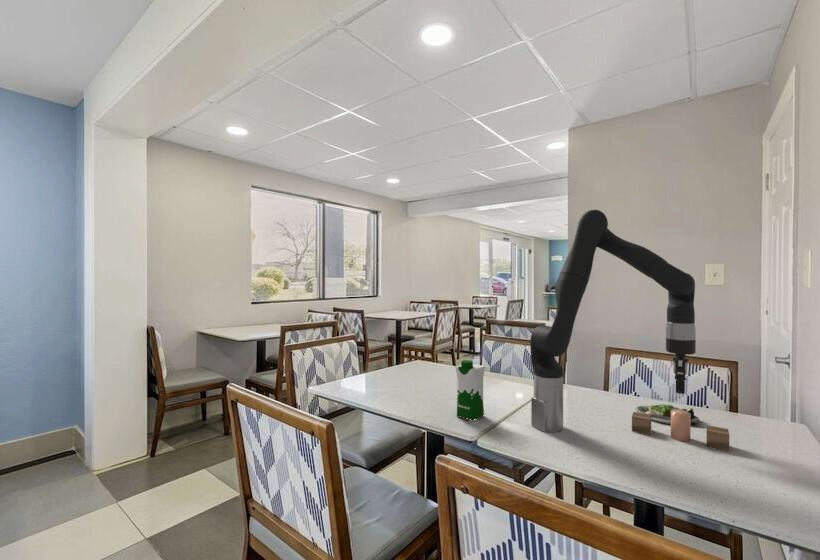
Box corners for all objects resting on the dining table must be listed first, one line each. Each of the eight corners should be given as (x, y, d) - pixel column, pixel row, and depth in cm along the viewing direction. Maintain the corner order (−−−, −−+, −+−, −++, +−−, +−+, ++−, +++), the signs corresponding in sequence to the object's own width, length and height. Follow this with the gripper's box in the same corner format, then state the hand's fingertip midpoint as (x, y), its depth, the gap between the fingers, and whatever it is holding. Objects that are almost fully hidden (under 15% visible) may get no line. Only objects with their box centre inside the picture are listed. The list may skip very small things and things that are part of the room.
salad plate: (651, 428, 128) (651, 414, 128) (622, 409, 146) (622, 397, 146) (710, 428, 128) (710, 414, 128) (674, 409, 146) (674, 397, 146)
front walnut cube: (729, 452, 110) (729, 434, 110) (707, 447, 113) (707, 430, 113) (727, 445, 114) (727, 428, 114) (706, 441, 117) (706, 425, 117)
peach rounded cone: (683, 443, 116) (684, 416, 116) (667, 436, 121) (667, 411, 121) (694, 440, 118) (694, 413, 118) (677, 433, 123) (677, 408, 123)
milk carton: (453, 416, 138) (452, 360, 138) (467, 410, 145) (467, 356, 145) (473, 423, 132) (473, 364, 132) (488, 415, 139) (487, 360, 139)
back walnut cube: (650, 435, 122) (650, 419, 122) (631, 431, 125) (631, 416, 125) (651, 430, 126) (651, 414, 126) (633, 426, 129) (633, 411, 129)
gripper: (696, 341, 111) (696, 398, 112) (695, 335, 123) (695, 386, 123) (664, 339, 116) (664, 393, 116) (666, 333, 127) (666, 382, 128)
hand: (680, 389), depth 120 cm, fingers open, 8 cm apart
